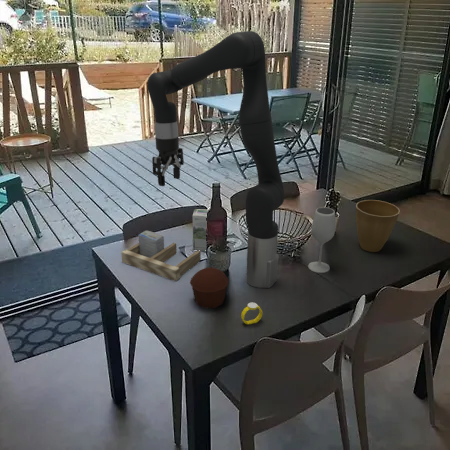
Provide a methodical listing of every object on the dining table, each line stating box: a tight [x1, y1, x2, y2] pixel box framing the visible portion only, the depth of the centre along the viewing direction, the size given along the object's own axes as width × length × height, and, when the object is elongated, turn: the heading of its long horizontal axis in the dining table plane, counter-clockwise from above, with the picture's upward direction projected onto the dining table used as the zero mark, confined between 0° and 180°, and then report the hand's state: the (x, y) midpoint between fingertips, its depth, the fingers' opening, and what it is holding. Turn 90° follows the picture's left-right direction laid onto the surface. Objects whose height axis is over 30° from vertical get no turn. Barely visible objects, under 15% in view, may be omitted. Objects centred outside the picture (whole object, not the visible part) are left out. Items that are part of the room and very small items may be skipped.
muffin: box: [189, 266, 230, 309], centre depth 144 cm, size 12×11×10 cm
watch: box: [240, 301, 263, 325], centre depth 136 cm, size 6×3×6 cm, turn 113°
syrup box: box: [192, 208, 209, 251], centre depth 173 cm, size 6×6×14 cm
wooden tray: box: [120, 242, 202, 282], centre depth 166 cm, size 23×15×4 cm, turn 59°
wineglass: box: [307, 206, 336, 274], centre depth 160 cm, size 8×8×21 cm
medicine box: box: [137, 230, 165, 258], centre depth 168 cm, size 8×4×9 cm, turn 58°
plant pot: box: [355, 199, 401, 253], centre depth 175 cm, size 15×15×16 cm
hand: (169, 182), depth 165 cm, fingers open, 8 cm apart
